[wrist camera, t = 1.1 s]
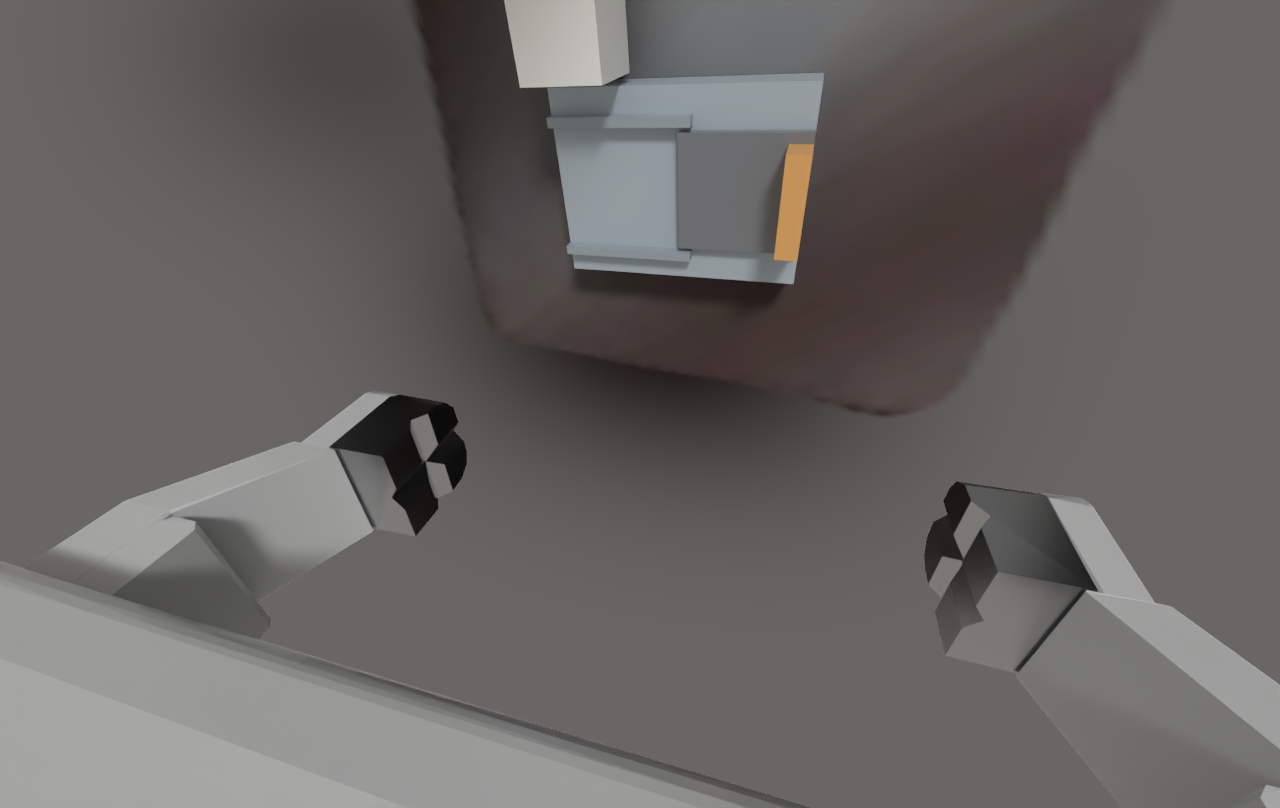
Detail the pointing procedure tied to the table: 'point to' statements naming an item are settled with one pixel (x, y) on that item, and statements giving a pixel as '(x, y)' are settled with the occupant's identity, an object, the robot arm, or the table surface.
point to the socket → (661, 165)
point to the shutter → (743, 190)
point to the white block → (568, 41)
